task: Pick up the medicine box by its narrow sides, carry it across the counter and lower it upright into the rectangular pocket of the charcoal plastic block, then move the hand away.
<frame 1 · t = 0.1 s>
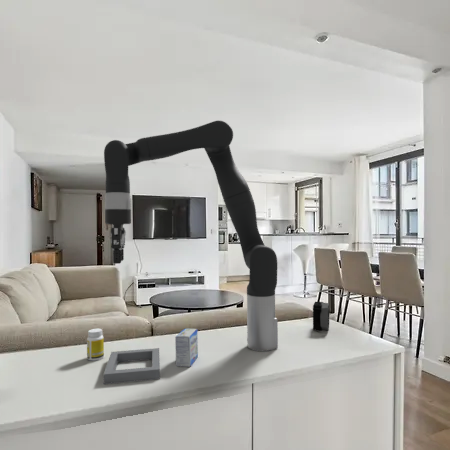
hand: (118, 262, 103), 29 cm above the sideboard, tool pointing down, fingers open, 8 cm apart
supplement bottle: (95, 358, 104), on the sideboard
medicine box: (187, 362, 101), on the sideboard
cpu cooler: (321, 329, 131), on the sideboard
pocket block: (134, 368, 96), on the sideboard
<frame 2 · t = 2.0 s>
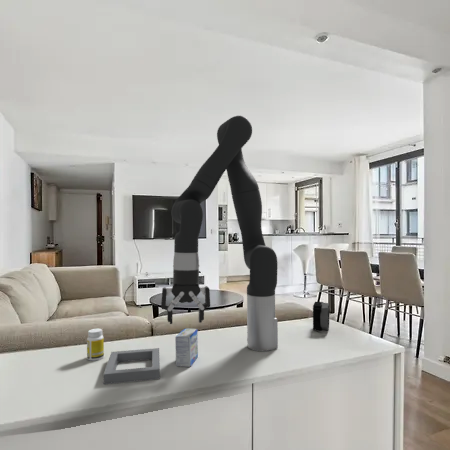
hand: (185, 322, 101), 11 cm above the sideboard, tool pointing down, fingers open, 8 cm apart
nothing on the sideboard moved.
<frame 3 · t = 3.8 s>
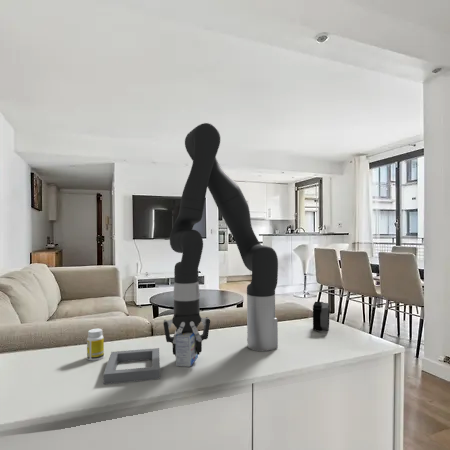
hand: (187, 354, 101), 2 cm above the sideboard, tool pointing down, fingers closed on medicine box, 5 cm apart
medicine box: (187, 362, 101), on the sideboard, touching gripper
everything else where it was.
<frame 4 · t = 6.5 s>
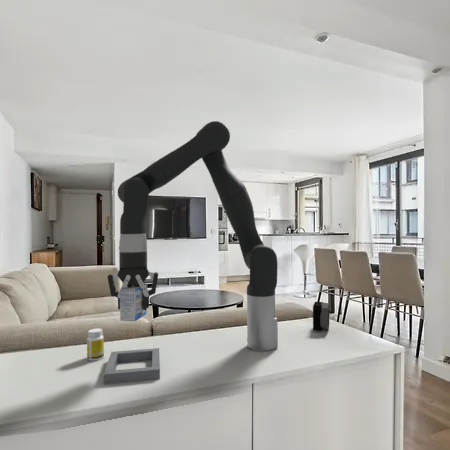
hand: (133, 310, 96), 16 cm above the sideboard, tool pointing down, fingers closed on medicine box, 5 cm apart
medicine box: (133, 318, 96), point 14 cm above the sideboard, touching gripper
everything else where it was.
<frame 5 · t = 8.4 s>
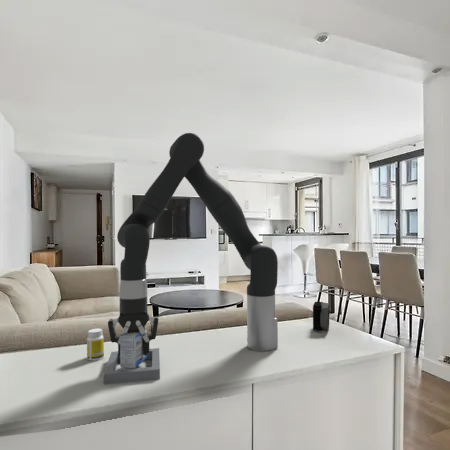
hand: (134, 355, 96), 4 cm above the sideboard, tool pointing down, fingers closed on medicine box, 5 cm apart
medicine box: (134, 363, 96), point 1 cm above the sideboard, touching gripper
everything else where it was.
when the fingers open (3 cm above the sideboard, at t = 9.6 s): medicine box drops 1 cm, resting in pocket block.
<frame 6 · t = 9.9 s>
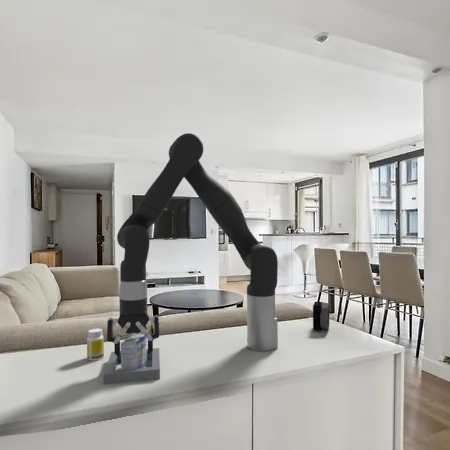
hand: (133, 354, 96), 4 cm above the sideboard, tool pointing down, fingers open, 8 cm apart
medicine box: (134, 369, 96), resting in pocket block
everything else where it was.
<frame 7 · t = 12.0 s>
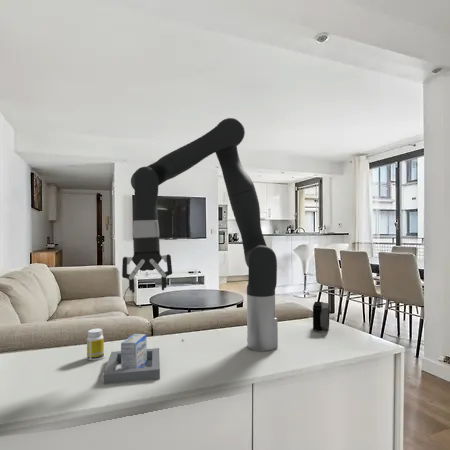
hand: (148, 290, 101), 21 cm above the sideboard, tool pointing down, fingers open, 8 cm apart
nothing on the sideboard moved.
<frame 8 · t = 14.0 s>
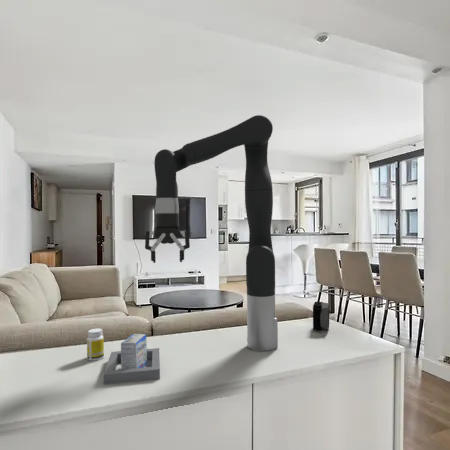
hand: (167, 262, 112), 28 cm above the sideboard, tool pointing down, fingers open, 8 cm apart
nothing on the sideboard moved.
at the end: medicine box 0.1 cm off-centre on the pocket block, point 0.0 cm above the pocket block's base; medicine box tilted 0°; the gripper is holding nothing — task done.
